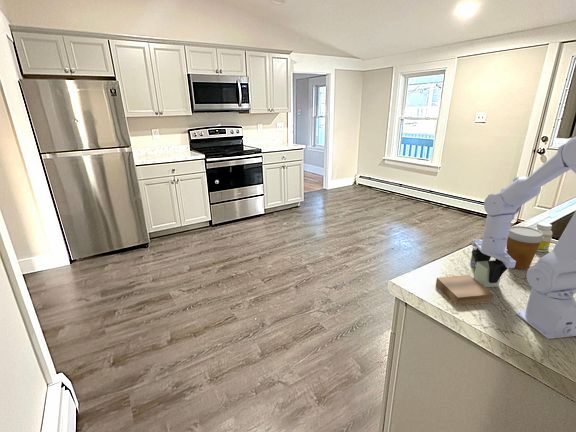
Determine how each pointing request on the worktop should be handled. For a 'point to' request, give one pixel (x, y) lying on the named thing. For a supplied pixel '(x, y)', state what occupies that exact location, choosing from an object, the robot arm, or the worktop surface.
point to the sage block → (483, 274)
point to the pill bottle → (473, 257)
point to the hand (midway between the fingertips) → (486, 277)
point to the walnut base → (464, 290)
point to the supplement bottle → (547, 235)
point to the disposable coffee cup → (523, 245)
